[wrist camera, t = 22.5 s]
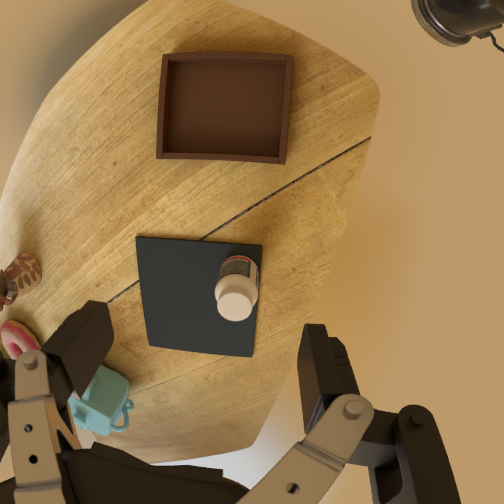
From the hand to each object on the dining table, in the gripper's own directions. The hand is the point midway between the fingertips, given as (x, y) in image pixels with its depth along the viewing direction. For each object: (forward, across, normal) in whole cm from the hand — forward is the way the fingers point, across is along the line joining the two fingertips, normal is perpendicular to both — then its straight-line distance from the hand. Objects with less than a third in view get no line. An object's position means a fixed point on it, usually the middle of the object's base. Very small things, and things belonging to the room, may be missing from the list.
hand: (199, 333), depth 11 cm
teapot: (+28, +30, +39) cm, 57 cm away
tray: (+28, +3, -11) cm, 30 cm away
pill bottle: (+28, 0, +11) cm, 30 cm away
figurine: (+28, +40, +15) cm, 51 cm away
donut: (+28, +50, +35) cm, 67 cm away
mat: (+28, +6, +17) cm, 33 cm away
